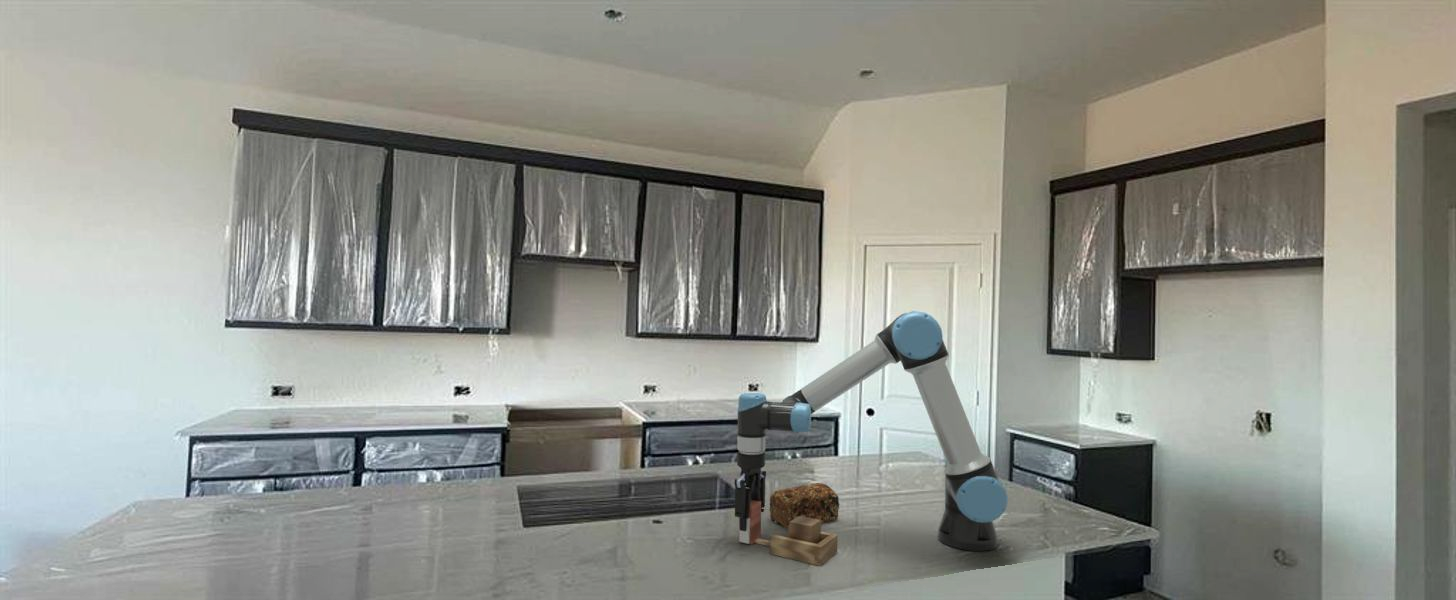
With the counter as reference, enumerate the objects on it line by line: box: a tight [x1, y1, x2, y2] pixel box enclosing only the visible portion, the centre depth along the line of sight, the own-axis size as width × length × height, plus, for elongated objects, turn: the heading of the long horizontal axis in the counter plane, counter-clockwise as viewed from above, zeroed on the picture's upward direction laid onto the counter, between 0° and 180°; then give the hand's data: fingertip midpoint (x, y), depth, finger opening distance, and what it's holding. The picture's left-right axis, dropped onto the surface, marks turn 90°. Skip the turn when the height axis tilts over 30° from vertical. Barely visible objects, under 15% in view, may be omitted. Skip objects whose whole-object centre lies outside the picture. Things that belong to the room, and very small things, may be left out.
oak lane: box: [770, 525, 839, 566], centre depth 161 cm, size 14×11×4 cm
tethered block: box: [738, 500, 822, 547], centre depth 165 cm, size 21×6×10 cm, turn 59°
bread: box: [769, 482, 840, 529], centre depth 188 cm, size 19×11×10 cm, turn 118°
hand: (749, 539), depth 170 cm, fingers closed on tethered block, 5 cm apart
